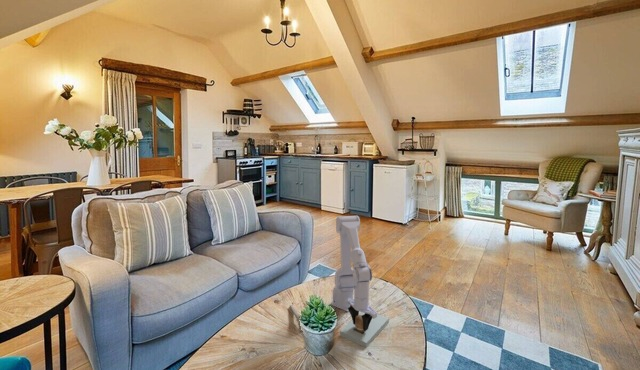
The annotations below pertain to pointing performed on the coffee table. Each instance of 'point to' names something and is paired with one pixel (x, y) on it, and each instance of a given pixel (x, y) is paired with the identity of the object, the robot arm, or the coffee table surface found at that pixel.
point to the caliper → (296, 316)
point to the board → (369, 334)
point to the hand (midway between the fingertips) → (360, 326)
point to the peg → (359, 324)
